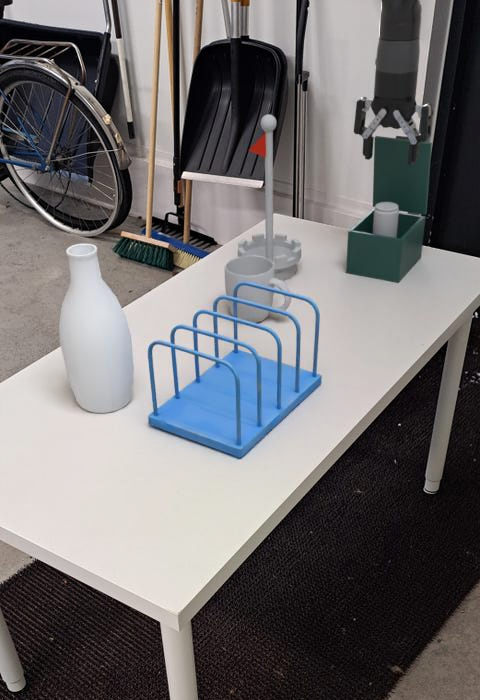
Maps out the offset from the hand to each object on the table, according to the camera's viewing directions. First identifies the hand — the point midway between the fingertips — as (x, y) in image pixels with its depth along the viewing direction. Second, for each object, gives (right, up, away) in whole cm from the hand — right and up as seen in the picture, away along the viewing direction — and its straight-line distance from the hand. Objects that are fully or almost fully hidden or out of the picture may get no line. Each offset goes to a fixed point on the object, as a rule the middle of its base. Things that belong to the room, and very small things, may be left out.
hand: (389, 161), depth 162 cm
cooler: (+1, -15, +15) cm, 21 cm away
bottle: (-51, -49, -21) cm, 74 cm away
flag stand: (-22, -16, +15) cm, 31 cm away
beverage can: (+1, -16, +13) cm, 21 cm away
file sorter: (-29, -50, -24) cm, 62 cm away
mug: (-25, -30, -1) cm, 39 cm away
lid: (+3, 0, +8) cm, 9 cm away
